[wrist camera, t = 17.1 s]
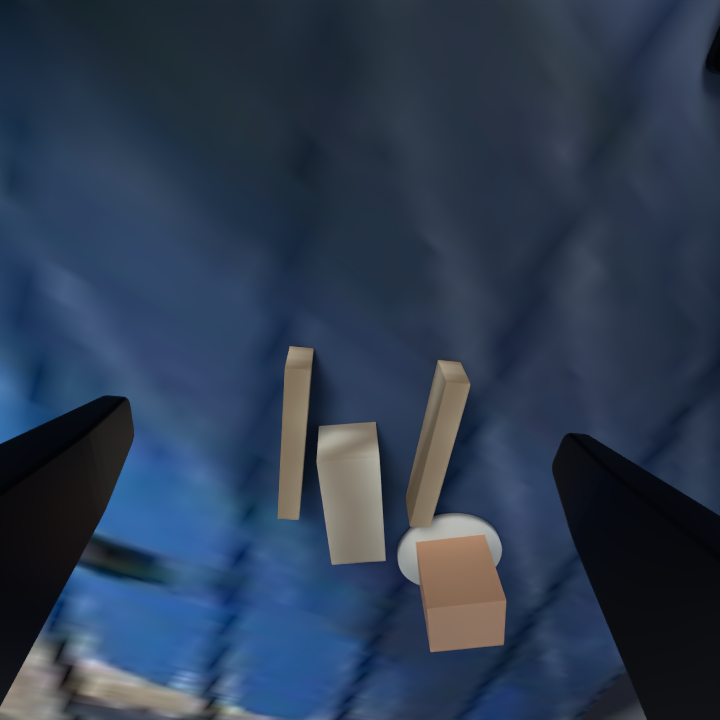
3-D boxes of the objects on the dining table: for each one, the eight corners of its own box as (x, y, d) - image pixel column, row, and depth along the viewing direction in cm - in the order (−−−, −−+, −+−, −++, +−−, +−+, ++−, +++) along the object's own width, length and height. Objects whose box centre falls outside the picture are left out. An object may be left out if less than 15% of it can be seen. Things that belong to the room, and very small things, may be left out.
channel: (460, 362, 24) (470, 384, 22) (424, 499, 28) (429, 527, 26) (289, 346, 23) (284, 367, 21) (282, 490, 28) (277, 518, 26)
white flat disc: (511, 516, 29) (514, 523, 29) (484, 583, 33) (486, 591, 32) (406, 509, 29) (407, 517, 28) (389, 579, 32) (390, 586, 32)
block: (484, 534, 29) (506, 600, 25) (483, 577, 31) (503, 644, 28) (415, 542, 29) (426, 608, 25) (419, 584, 32) (430, 652, 28)
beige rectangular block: (375, 419, 26) (379, 457, 23) (381, 517, 29) (385, 560, 27) (319, 423, 26) (316, 461, 23) (332, 521, 29) (331, 564, 27)
